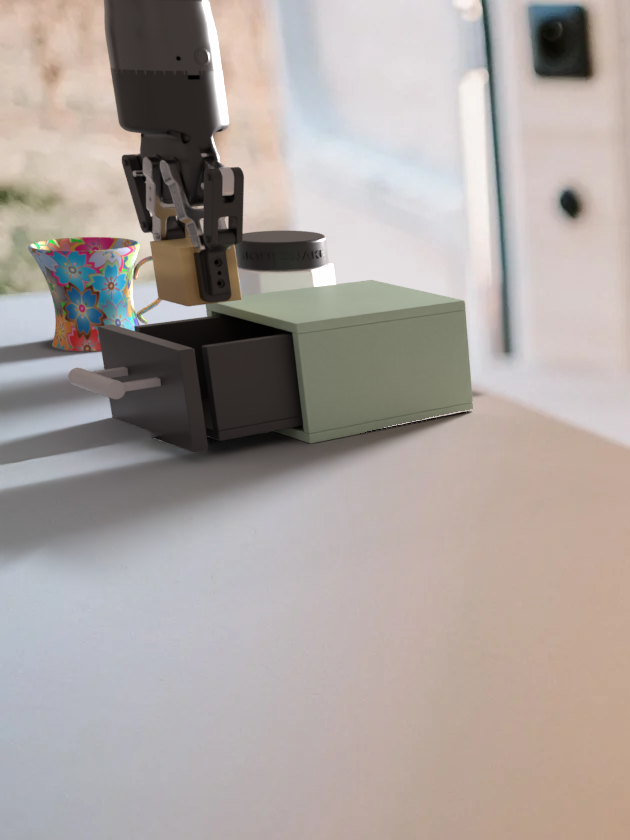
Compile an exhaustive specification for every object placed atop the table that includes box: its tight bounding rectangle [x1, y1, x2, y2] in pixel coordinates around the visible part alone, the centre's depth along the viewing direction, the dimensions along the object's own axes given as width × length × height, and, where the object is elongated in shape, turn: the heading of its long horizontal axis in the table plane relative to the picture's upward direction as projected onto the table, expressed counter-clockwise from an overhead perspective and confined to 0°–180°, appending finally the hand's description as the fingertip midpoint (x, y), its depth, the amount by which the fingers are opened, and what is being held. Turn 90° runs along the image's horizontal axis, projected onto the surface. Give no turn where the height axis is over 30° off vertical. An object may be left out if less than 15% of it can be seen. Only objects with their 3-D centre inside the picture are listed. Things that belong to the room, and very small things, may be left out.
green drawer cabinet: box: [205, 279, 474, 444], centre depth 136 cm, size 16×14×10 cm
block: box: [149, 238, 242, 307], centre depth 125 cm, size 4×4×4 cm
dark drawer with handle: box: [67, 314, 303, 454], centre depth 128 cm, size 19×12×8 cm, turn 142°
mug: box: [27, 236, 164, 352], centre depth 153 cm, size 12×9×11 cm
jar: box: [234, 230, 337, 296], centre depth 152 cm, size 9×8×12 cm
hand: (199, 295), depth 125 cm, fingers closed on block, 4 cm apart
